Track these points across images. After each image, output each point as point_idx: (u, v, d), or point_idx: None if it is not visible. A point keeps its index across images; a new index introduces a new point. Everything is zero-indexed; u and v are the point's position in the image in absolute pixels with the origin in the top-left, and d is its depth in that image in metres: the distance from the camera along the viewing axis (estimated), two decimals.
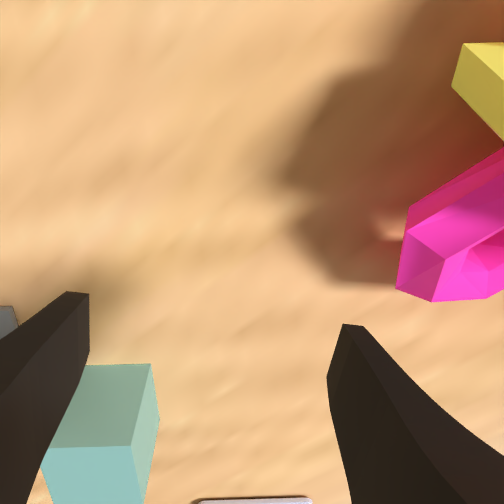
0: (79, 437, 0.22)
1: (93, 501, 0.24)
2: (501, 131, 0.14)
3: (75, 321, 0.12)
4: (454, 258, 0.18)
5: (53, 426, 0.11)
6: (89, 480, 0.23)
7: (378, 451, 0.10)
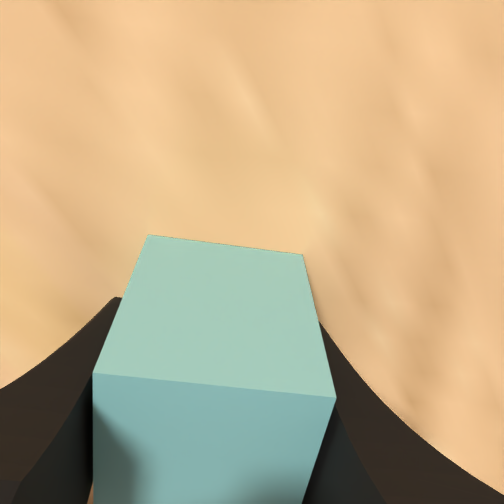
0: None
1: (288, 480, 0.10)
2: None
3: None
4: None
5: None
6: (211, 470, 0.10)
7: (320, 446, 0.10)
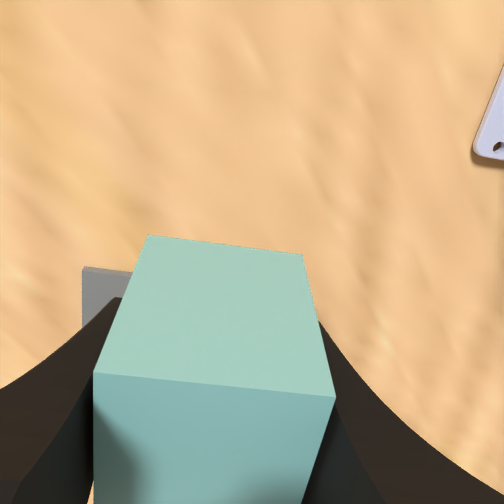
0: None
1: (288, 479, 0.10)
2: None
3: None
4: None
5: None
6: (211, 469, 0.10)
7: (320, 446, 0.10)
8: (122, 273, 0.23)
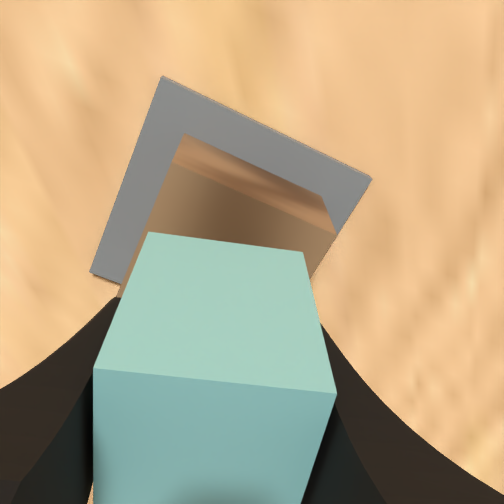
0: None
1: (288, 476, 0.10)
2: None
3: None
4: None
5: None
6: (211, 466, 0.10)
7: (320, 446, 0.10)
8: (209, 99, 0.17)
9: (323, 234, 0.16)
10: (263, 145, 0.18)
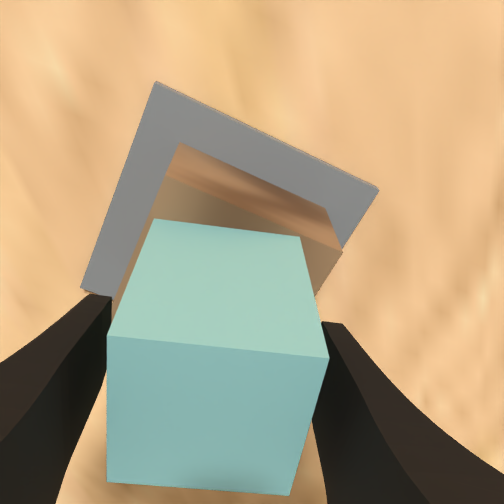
0: None
1: (286, 438, 0.11)
2: None
3: (100, 324, 0.12)
4: None
5: (79, 428, 0.11)
6: (215, 428, 0.10)
7: (351, 449, 0.10)
8: (206, 106, 0.16)
9: (328, 251, 0.15)
10: (264, 155, 0.17)
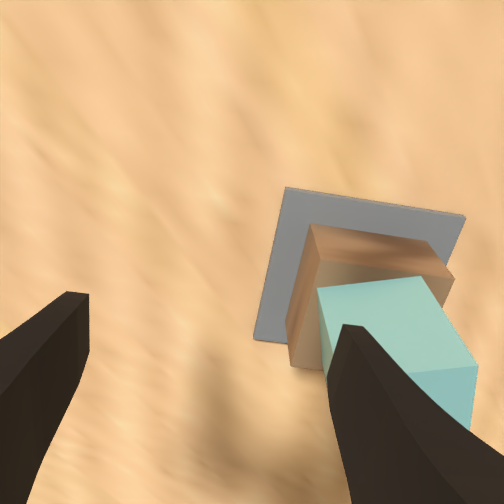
0: None
1: (458, 419, 0.16)
2: None
3: (75, 321, 0.12)
4: None
5: (53, 426, 0.11)
6: None
7: (378, 451, 0.10)
8: (324, 194, 0.22)
9: (444, 280, 0.20)
10: (372, 216, 0.23)
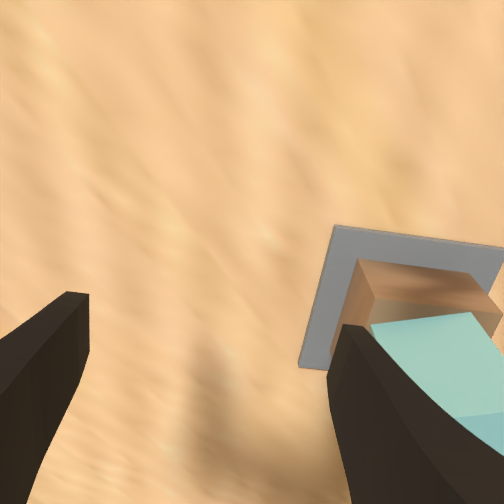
0: None
1: None
2: None
3: (75, 321, 0.12)
4: None
5: (53, 426, 0.11)
6: None
7: (378, 451, 0.10)
8: (371, 231, 0.23)
9: (492, 316, 0.21)
10: (418, 250, 0.24)
